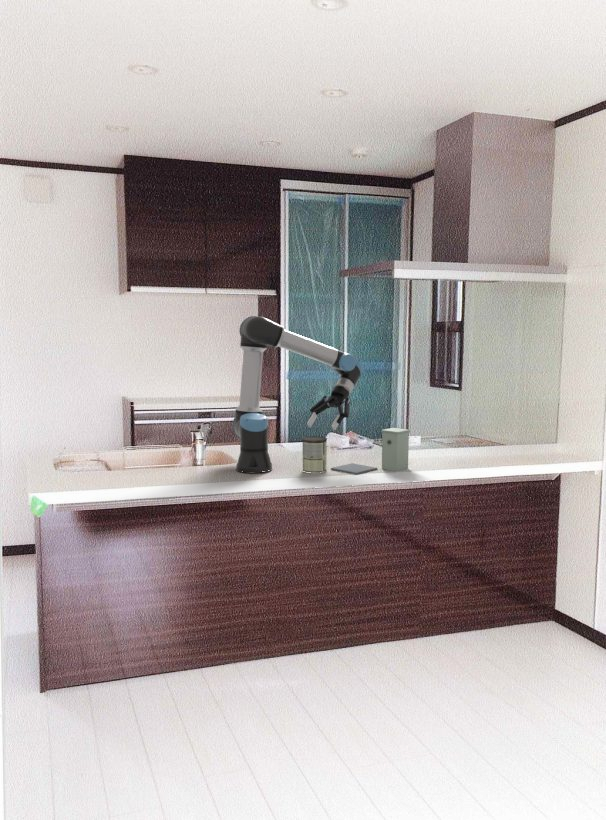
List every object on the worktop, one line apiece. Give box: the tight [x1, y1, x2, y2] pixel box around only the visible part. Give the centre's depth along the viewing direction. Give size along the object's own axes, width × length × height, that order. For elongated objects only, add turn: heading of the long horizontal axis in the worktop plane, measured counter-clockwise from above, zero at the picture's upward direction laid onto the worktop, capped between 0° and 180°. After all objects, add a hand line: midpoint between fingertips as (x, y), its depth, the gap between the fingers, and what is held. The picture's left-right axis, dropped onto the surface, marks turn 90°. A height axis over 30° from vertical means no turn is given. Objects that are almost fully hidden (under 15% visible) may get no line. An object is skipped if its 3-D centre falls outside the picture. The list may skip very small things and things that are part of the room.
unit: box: [380, 427, 411, 472], centre depth 313 cm, size 9×9×17 cm
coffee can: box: [301, 435, 328, 474], centre depth 308 cm, size 10×10×14 cm
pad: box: [330, 463, 378, 475], centre depth 312 cm, size 14×14×1 cm
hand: (320, 427), depth 317 cm, fingers open, 13 cm apart
